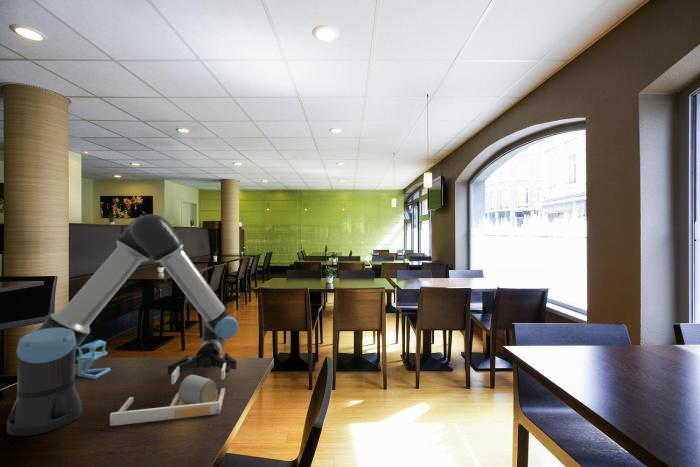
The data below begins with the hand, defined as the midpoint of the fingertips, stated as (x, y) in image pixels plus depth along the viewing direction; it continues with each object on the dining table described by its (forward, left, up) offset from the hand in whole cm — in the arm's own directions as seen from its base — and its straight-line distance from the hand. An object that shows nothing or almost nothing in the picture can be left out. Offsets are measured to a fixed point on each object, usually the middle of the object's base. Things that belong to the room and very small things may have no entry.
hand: (198, 377), depth 102 cm
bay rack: (-7, +1, -8) cm, 11 cm away
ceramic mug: (0, +2, -8) cm, 9 cm away
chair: (-41, +34, -8) cm, 54 cm away
